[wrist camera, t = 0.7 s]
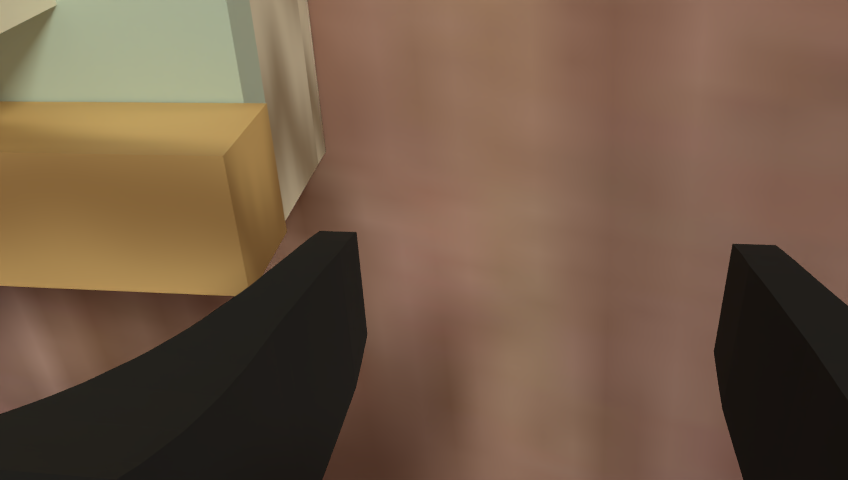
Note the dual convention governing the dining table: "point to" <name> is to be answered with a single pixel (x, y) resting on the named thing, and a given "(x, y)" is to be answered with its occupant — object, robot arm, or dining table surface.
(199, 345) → the robot arm
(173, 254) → the golden block
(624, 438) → the dining table surface
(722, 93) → the dining table surface
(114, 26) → the lid
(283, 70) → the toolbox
